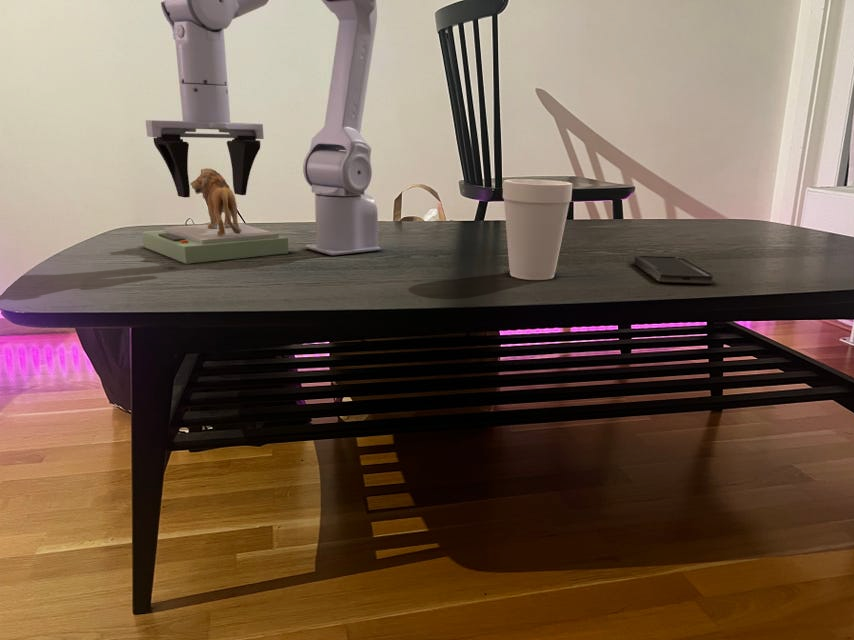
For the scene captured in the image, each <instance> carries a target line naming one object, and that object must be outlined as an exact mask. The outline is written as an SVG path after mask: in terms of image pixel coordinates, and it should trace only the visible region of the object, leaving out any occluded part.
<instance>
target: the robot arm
mask: <svg viewBox="0 0 854 640" xmlns="http://www.w3.org/2000/svg"><path fill="white" fill-rule="evenodd" d="M321 2H322V3H323V4H324V5H325V7H326V8H327V9H328V10H329V11H330V12H331V13H332V14H334V16H335V17H336V19H337V20H338V28H337V35H336V41H335V49H334V55H333V63H332V69H331V70H332V71H331V76H330V82H329V83H330V84H329V90H328V96H327V97H328V98H327V104H326V111H325V119H324V126H323V127H322V128H321V129H320V130H319V131H318V132H316V134H315V135H314V136H313V137H312V138H311V141H310V142H311V143H310V147H309V150H308V152H307V154H306V155H305V157H304V160H303V165H302V174H303V177H304V180H305V181H306V183H307V184H308V186H310V187H311V193H313V194H314V213H315V238H316V239H315V240H316V241H315V242H316V244H314V243H313V244H306V245H305V249H307V250H311V251H315V252H318V253H322V254H326V255H329V256H339V255H340V256H341V255H347V254H357V253H366V252H376V251H381V250H382V247H381V246H379V225H378V224H379V223H378V222H379V219H378V216H379V213H378V207H377V203H376V201H375V199H374V198H373V196H372V195H370V194H368V193H366V192H365V191H366V190H367V189H368V187H369V186H370V183H371V182H372V176H373V169H372V164H371V153H372V147H371V146H370V144H369V143H368V142H367V141H366V139H364V137H363V136H362V135H361V131H362V130H361V129H362V123H363V115H364V109H365V102H366V96H367V90H368V82H369V75H370V70H371V69H370V68H371V62H372V56H373V48H374V42H375V36H376V30H377V23H378V7H377V5H378V4H377V0H321ZM268 3H269V0H163V1H160V7H161V10H162V13H163V15H164V17H165V19H166V20H167V22H168V23H169V25H170V27H171V29H172V37H173V40H174V41H175V52H176V63H177V73H178V74H177V75H178V84H179V93H180V94H179V95H180V104H181V115H182V117H181V118H182V120H155V119H154V120H152V119H151V120H150V119H145V128H146V136H147V137H150V138H153V144H154V146H155V148H156V149H157V151H158V153H159V154H160V155H161V157H162V159H163V161H164V163H165V165H166V167H167V169H168V171H169V174H170V175H171V178H172V180H173V184H174V186H175V190H176V193H177V196H178V197H180V198H191V187H190V186H191V185H190V179H189V170H188V169H189V167H188V166H189V165H188V163H189V147H190V143H189V142H187V141H184V139H183V138H195V139H196V138H197V139H198V138H200V139H203V138H205V139H209V138H210V139H231V140H227V141H226V146H227V149H228V152H229V159H230V165H231V172H232V173H231V175H232V188H233V194H234V195H239V196H246V195H247V191H248V190H247V189H248V185H249V179H250V175H251V172H252V171H251V170H252V168H253V164H254V162H255V159H256V157H257V155H258V153H259V151H260V149H261V140H264V125H263V123H247V122H246V123H244V122H231V112H230V111H231V109H230V97H229V82H228V69H227V57H226V56H227V55H226V42H225V30H227V28H229V27H230V26H231V23H232V22H233V20H235V19H237V18H239V17H242V16H244V15H246V14H248V13H251V12H253V11H256V10H258V9H260V8H262V7H264V6H266V5H267V4H268ZM197 130H216V131H217V130H218V133H200V132H197ZM196 132H197V133H196Z"/></svg>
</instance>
